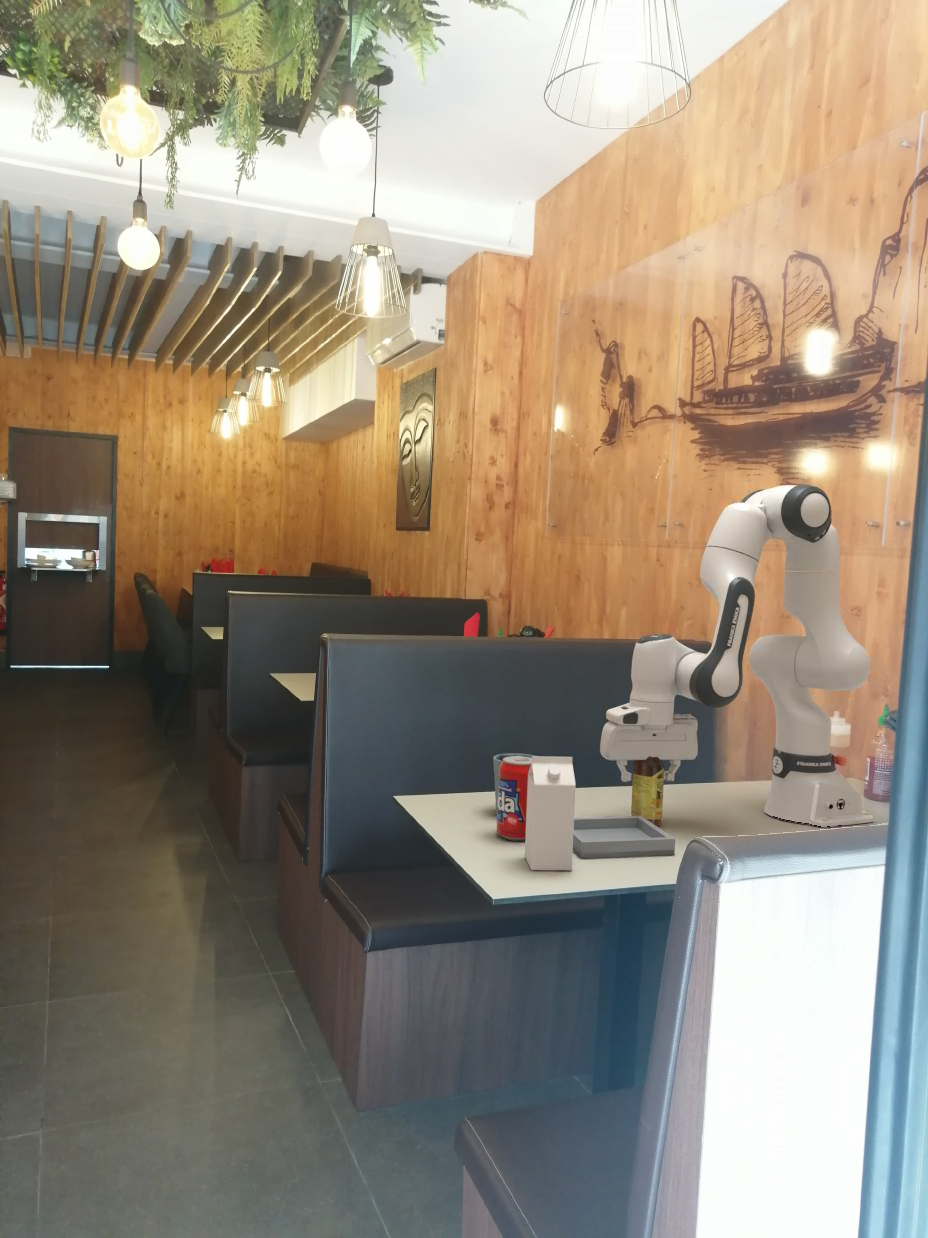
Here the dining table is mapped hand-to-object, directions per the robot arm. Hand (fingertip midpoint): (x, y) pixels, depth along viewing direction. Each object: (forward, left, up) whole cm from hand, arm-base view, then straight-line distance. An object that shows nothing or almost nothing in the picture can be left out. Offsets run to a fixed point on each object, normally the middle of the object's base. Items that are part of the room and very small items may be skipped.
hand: (647, 781), depth 181 cm
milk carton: (+28, +21, -9) cm, 36 cm away
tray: (+12, +11, -9) cm, 19 cm away
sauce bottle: (0, 0, -9) cm, 9 cm away
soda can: (+29, +5, -9) cm, 31 cm away
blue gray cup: (+25, -10, -9) cm, 28 cm away
